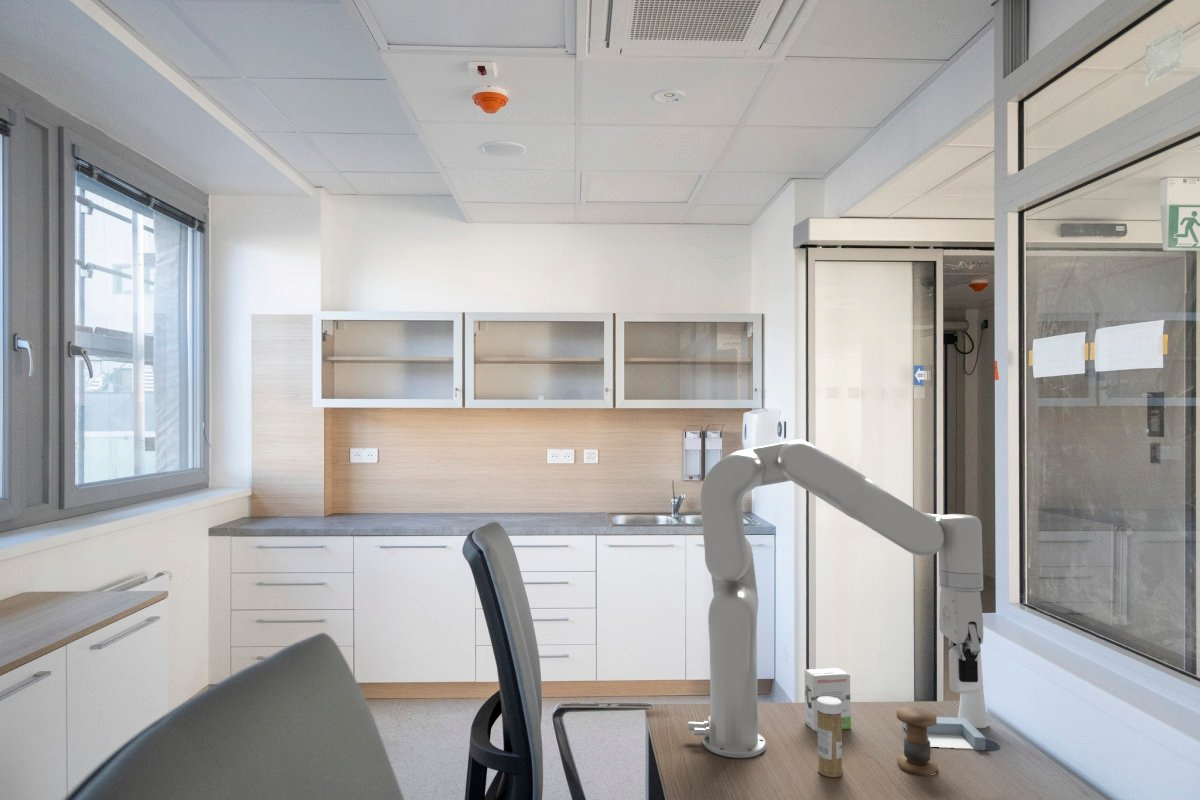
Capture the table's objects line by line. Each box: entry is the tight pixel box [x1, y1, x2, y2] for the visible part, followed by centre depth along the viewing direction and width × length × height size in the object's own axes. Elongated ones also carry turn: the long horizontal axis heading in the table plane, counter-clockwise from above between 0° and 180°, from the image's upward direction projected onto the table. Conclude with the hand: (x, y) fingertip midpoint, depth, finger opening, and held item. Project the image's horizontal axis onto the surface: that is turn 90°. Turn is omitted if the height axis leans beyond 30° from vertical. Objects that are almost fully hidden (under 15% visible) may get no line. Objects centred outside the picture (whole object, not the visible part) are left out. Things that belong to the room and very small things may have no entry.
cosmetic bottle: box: [957, 651, 989, 729], centre depth 159 cm, size 6×6×22 cm
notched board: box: [902, 716, 986, 751], centre depth 150 cm, size 13×10×2 cm
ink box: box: [803, 667, 852, 732], centre depth 157 cm, size 9×5×12 cm, turn 99°
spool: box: [896, 706, 939, 776], centre depth 138 cm, size 7×7×10 cm
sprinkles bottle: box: [817, 696, 844, 778], centre depth 136 cm, size 5×5×13 cm
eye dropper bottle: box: [948, 640, 980, 695], centre depth 137 cm, size 4×6×12 cm
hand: (963, 676), depth 137 cm, fingers closed on eye dropper bottle, 4 cm apart
